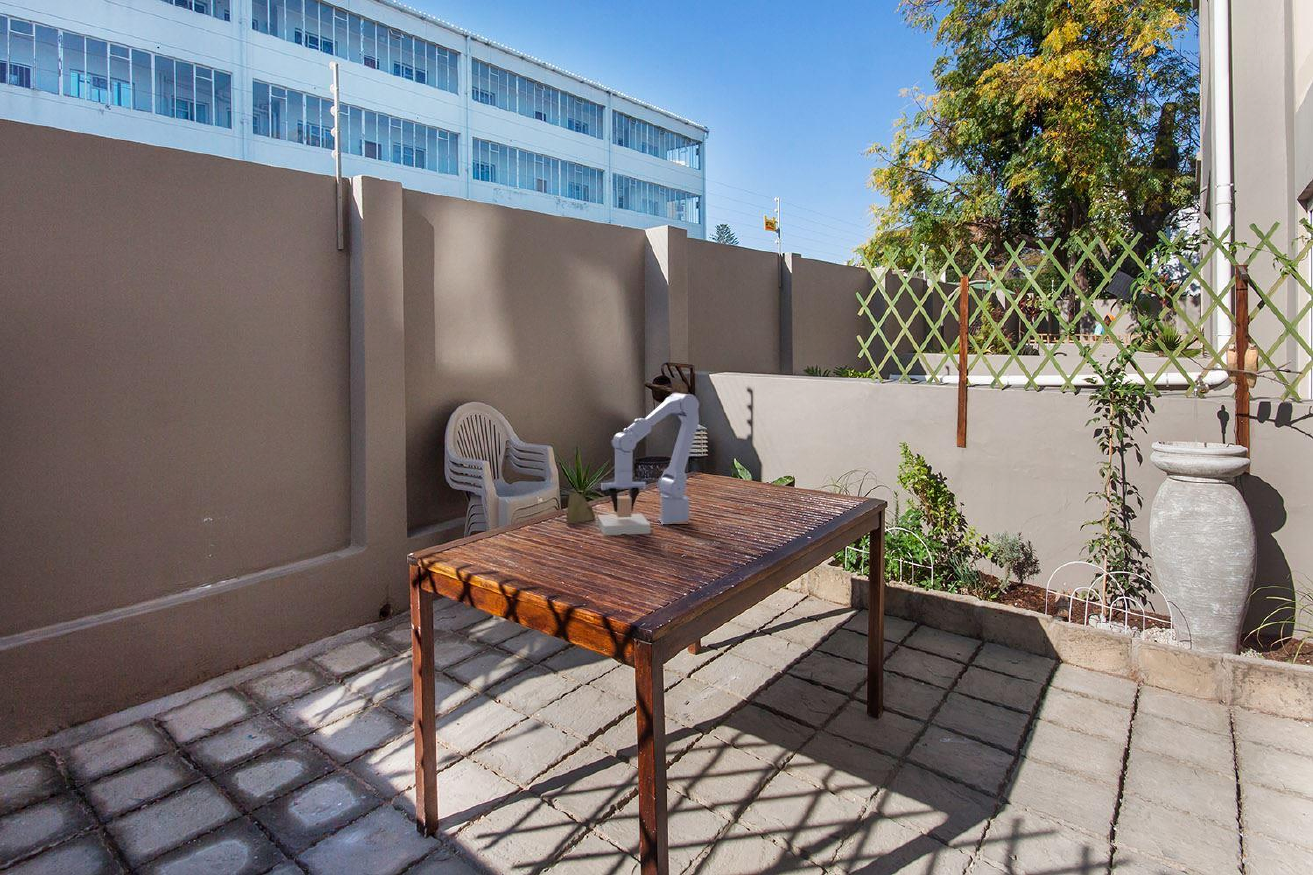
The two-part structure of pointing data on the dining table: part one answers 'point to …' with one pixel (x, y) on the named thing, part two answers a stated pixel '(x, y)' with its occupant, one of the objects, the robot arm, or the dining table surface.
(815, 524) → the dining table surface
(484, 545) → the dining table surface
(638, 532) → the base plinth
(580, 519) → the rock
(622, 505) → the terracotta block
